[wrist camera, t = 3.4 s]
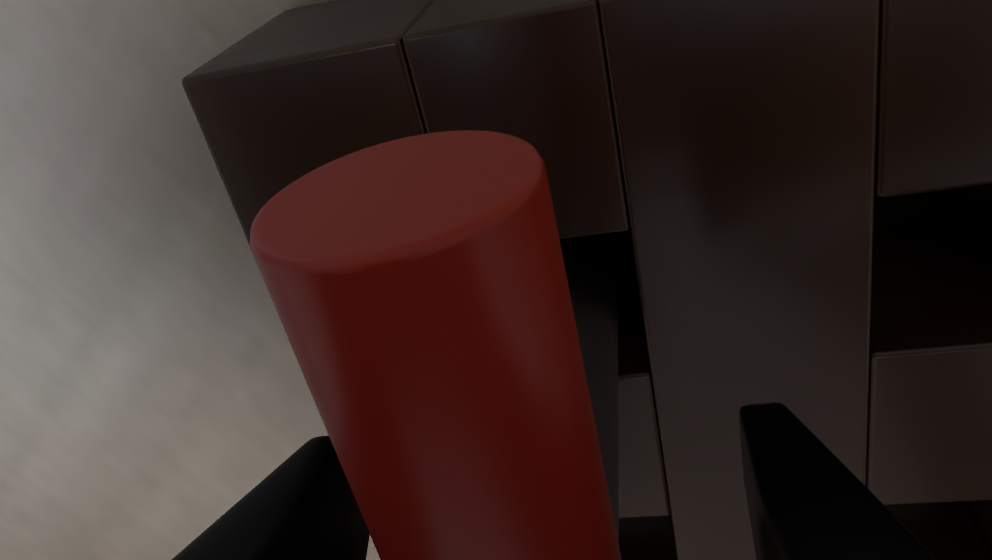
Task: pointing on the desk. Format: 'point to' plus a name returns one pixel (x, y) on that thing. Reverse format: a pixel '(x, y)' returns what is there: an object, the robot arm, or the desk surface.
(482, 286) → the T-handle
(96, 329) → the desk surface
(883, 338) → the block
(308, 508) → the robot arm
